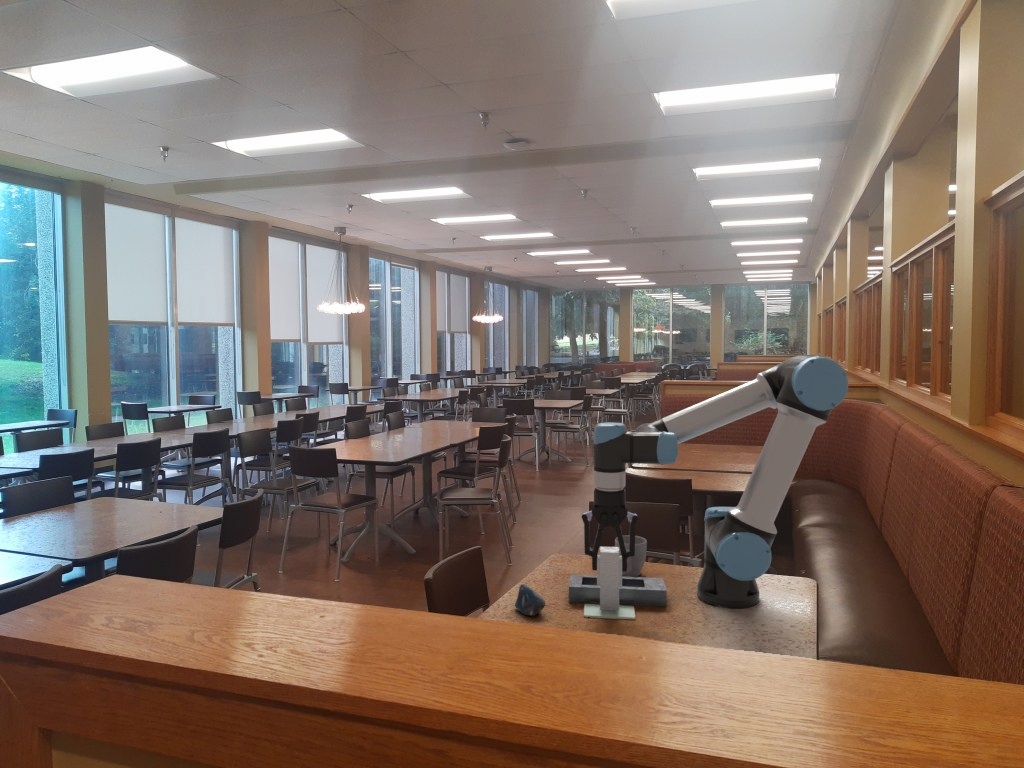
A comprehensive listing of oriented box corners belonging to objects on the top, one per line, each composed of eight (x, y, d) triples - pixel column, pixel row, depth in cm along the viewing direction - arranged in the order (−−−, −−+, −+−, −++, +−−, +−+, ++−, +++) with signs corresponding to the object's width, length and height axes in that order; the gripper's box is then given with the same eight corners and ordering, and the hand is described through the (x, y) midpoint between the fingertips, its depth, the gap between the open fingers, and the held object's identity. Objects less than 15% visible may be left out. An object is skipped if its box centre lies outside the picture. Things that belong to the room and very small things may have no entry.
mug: (616, 567, 199) (616, 534, 198) (647, 569, 196) (647, 536, 196) (611, 581, 187) (611, 546, 186) (644, 583, 185) (644, 548, 184)
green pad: (633, 608, 168) (633, 606, 168) (635, 619, 161) (635, 617, 161) (584, 606, 169) (584, 604, 169) (583, 617, 162) (583, 615, 162)
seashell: (537, 611, 159) (551, 576, 167) (504, 608, 164) (518, 575, 171) (547, 628, 162) (559, 593, 170) (513, 625, 167) (527, 591, 174)
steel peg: (618, 603, 167) (618, 547, 166) (619, 610, 163) (619, 552, 162) (600, 602, 168) (600, 546, 167) (599, 609, 163) (600, 552, 162)
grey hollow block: (663, 593, 178) (663, 578, 177) (666, 606, 169) (666, 590, 169) (570, 589, 181) (570, 574, 181) (568, 602, 172) (568, 586, 172)
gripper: (646, 485, 166) (645, 579, 167) (573, 483, 168) (573, 577, 170) (648, 491, 158) (647, 590, 160) (572, 490, 161) (572, 587, 162)
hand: (609, 583), depth 165 cm, fingers closed on steel peg, 4 cm apart
